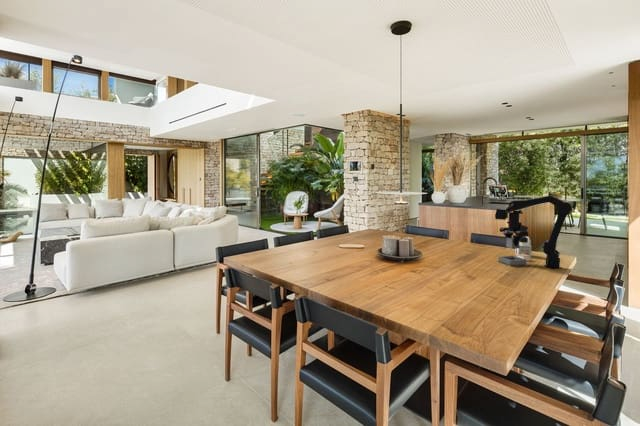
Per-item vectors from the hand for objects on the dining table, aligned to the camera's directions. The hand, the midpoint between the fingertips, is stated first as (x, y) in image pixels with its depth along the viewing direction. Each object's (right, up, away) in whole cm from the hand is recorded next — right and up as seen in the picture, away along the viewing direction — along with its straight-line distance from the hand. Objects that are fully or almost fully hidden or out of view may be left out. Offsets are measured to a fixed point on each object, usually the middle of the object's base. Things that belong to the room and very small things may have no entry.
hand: (512, 245), depth 205 cm
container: (+18, -9, +18) cm, 27 cm away
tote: (-2, -11, -3) cm, 12 cm away
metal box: (0, -2, 0) cm, 2 cm away
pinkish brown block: (+11, -10, +6) cm, 16 cm away
